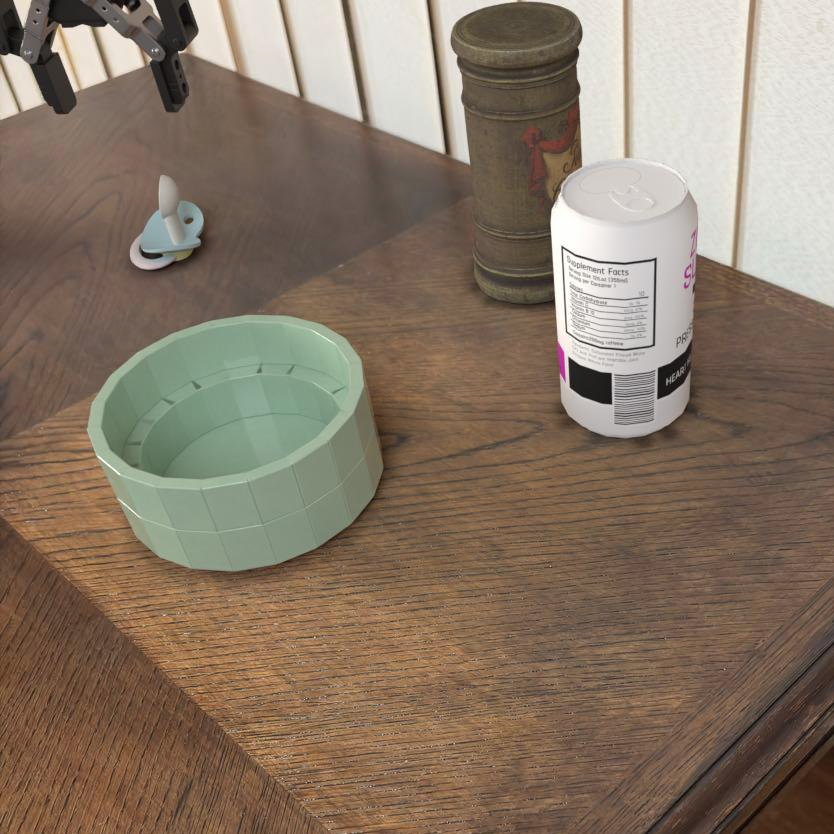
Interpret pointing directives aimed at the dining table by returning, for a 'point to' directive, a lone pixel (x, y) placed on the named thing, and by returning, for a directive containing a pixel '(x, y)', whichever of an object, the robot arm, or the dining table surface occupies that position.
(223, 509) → the bowl
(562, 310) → the supplement can
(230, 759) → the dining table surface
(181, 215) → the pacifier
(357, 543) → the dining table surface
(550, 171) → the container
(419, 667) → the dining table surface
